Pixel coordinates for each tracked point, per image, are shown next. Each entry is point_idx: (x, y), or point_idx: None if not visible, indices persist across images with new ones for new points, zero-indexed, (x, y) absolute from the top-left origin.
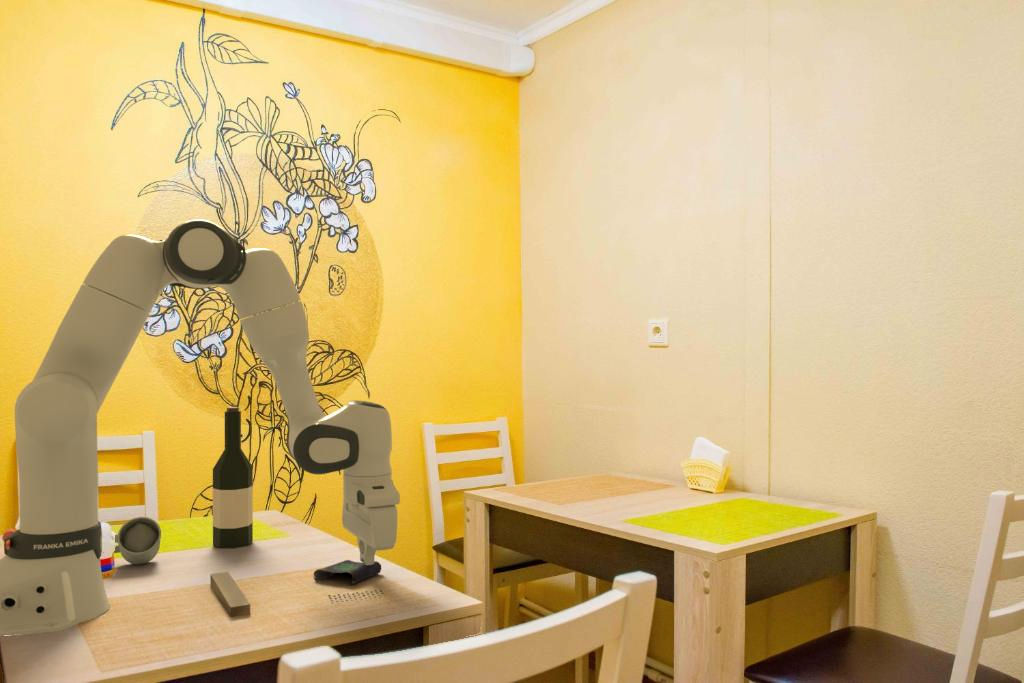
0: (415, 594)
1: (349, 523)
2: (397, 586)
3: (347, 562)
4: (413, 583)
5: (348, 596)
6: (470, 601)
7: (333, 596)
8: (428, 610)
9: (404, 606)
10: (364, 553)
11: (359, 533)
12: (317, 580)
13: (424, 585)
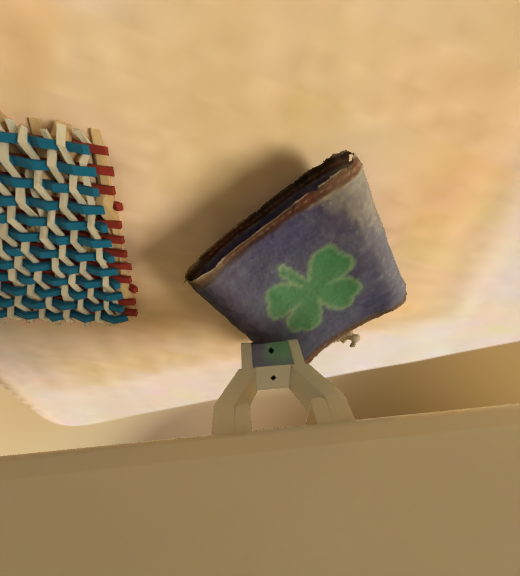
0: (138, 369)
1: (481, 474)
2: (210, 354)
3: (373, 302)
4: (217, 379)
5: (63, 221)
6: (71, 425)
7: (69, 164)
8: (11, 368)
9: (46, 337)
10: (246, 375)
11: (261, 472)
12: (336, 169)
13: (195, 391)
